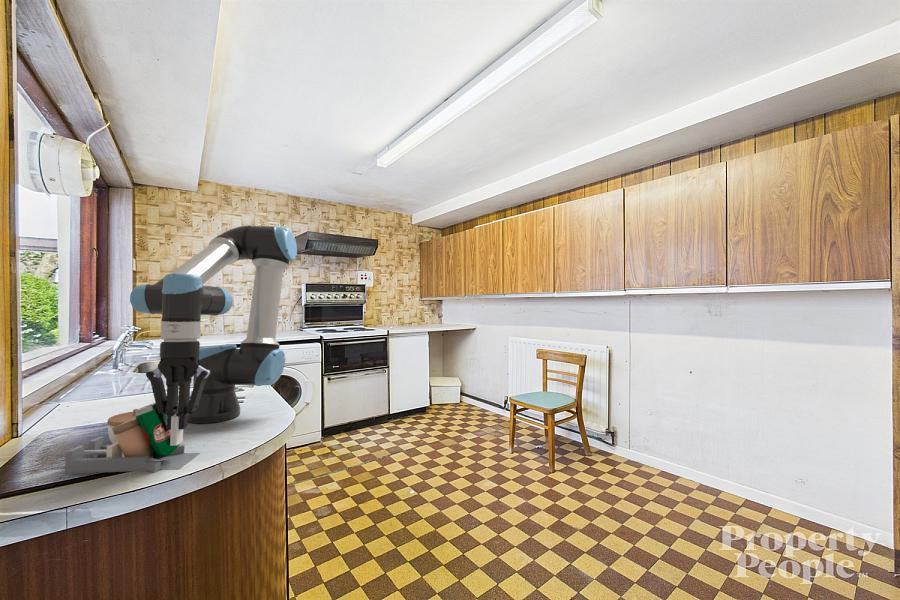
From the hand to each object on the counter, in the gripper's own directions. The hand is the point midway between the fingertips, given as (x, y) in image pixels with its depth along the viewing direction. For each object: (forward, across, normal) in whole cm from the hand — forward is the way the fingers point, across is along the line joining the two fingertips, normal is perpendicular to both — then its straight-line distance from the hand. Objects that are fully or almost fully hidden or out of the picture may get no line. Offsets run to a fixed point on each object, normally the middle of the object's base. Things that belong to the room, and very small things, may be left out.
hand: (176, 443), depth 87 cm
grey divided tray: (+5, -8, +1) cm, 10 cm away
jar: (+3, -8, +1) cm, 8 cm away
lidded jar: (+4, -16, +13) cm, 22 cm away
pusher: (+4, -17, +1) cm, 18 cm away
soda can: (+3, -2, +1) cm, 4 cm away
